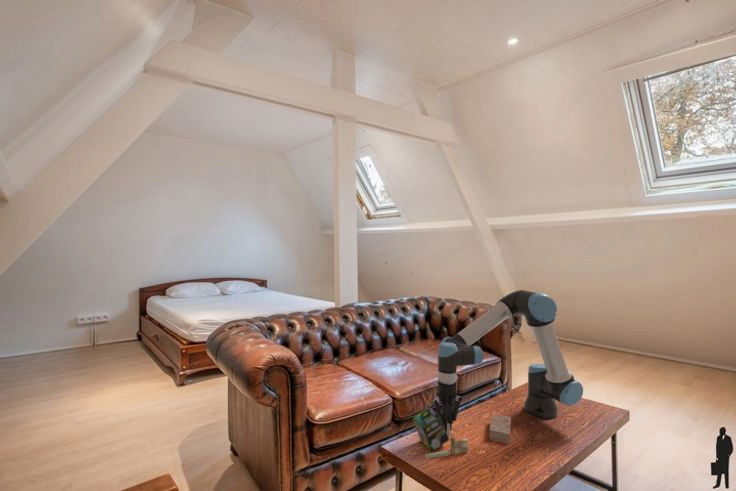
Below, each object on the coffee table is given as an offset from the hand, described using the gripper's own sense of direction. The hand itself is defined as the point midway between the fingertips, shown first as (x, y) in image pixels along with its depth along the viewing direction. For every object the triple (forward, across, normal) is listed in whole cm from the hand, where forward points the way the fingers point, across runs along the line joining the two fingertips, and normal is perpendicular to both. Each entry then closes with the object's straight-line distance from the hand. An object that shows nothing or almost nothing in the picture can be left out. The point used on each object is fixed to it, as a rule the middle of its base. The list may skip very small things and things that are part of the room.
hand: (446, 438), depth 152 cm
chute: (+3, -2, -1) cm, 3 cm away
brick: (+3, -28, -3) cm, 28 cm away
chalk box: (+1, +5, -1) cm, 5 cm away
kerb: (+3, +8, +7) cm, 11 cm away
